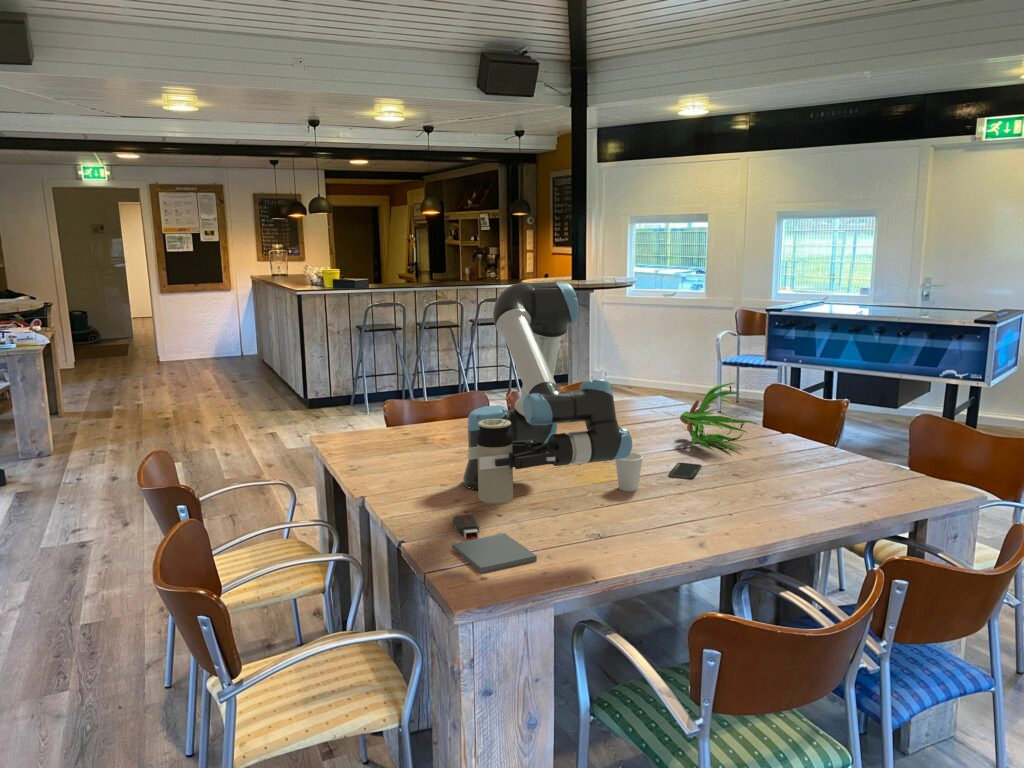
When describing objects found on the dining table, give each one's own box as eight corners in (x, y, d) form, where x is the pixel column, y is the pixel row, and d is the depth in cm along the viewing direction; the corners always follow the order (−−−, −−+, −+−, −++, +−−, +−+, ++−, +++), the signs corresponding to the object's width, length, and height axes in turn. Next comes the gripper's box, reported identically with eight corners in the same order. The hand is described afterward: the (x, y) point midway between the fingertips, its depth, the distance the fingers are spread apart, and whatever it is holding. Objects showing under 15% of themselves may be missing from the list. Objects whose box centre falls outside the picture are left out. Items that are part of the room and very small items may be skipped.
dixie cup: (621, 494, 219) (621, 460, 217) (609, 485, 227) (610, 453, 225) (647, 491, 221) (648, 458, 220) (635, 483, 229) (636, 451, 228)
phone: (667, 474, 235) (678, 462, 249) (667, 477, 235) (678, 465, 249) (693, 477, 232) (702, 464, 245) (693, 480, 232) (702, 468, 246)
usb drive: (472, 522, 199) (472, 512, 198) (482, 538, 187) (482, 528, 187) (452, 524, 197) (452, 514, 197) (461, 540, 186) (461, 530, 186)
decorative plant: (695, 447, 291) (763, 461, 267) (651, 444, 275) (719, 458, 252) (705, 380, 290) (773, 388, 266) (661, 373, 275) (729, 381, 251)
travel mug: (473, 502, 172) (471, 425, 168) (486, 491, 179) (484, 417, 176) (506, 505, 169) (504, 427, 166) (517, 494, 176) (516, 419, 173)
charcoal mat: (452, 548, 180) (452, 543, 180) (504, 537, 187) (504, 533, 186) (481, 573, 166) (481, 567, 166) (536, 560, 173) (536, 555, 172)
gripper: (586, 476, 169) (488, 487, 162) (552, 453, 188) (463, 462, 181) (586, 443, 167) (487, 453, 160) (551, 423, 187) (462, 431, 180)
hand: (474, 458), depth 171 cm, fingers closed on travel mug, 8 cm apart
